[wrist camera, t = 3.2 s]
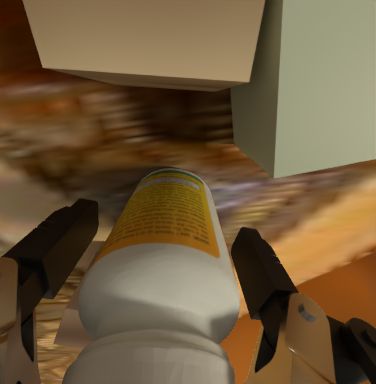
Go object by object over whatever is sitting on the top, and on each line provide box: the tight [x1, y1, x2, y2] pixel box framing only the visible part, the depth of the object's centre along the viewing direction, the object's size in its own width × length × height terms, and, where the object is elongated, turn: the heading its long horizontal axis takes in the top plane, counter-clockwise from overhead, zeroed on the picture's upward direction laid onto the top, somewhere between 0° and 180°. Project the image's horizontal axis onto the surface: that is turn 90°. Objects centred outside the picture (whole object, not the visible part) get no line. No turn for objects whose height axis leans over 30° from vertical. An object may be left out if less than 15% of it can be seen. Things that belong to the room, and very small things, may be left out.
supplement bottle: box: [62, 168, 240, 384], centre depth 7 cm, size 5×5×10 cm
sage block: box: [230, 0, 376, 178], centre depth 6 cm, size 5×5×5 cm
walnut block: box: [53, 241, 106, 349], centre depth 13 cm, size 5×5×5 cm
